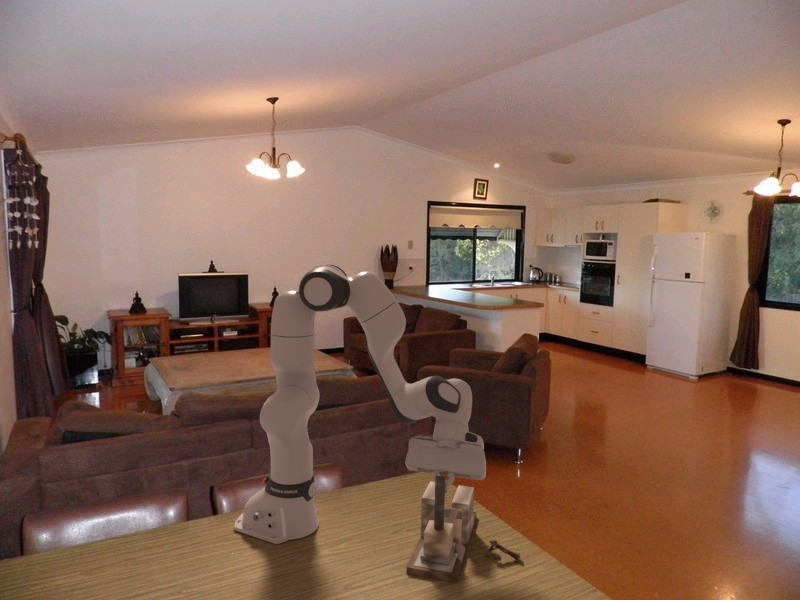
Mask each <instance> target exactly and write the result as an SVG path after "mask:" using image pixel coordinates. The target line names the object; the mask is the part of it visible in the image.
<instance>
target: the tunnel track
mask: <svg viewBox="0 0 800 600" xmlns="http://www.w3.org/2000/svg"><path fill="white" fill-rule="evenodd" d="M474 499H475V487H473V486H467V485H461V484H460V485H459V484H458V486H457V489H456V491H455V493H454V496H453V499H452V501H451V507H445V506H444V522H446V523H452V524H453V543H455V549H454V552H453V555H452V558H451V561H450V564H449V565H447V564H442V563H436V562H431V561H425V560H420V555H421V553H422V551H423V549H424V531H425V529H426V527H427V524H428V522H429V520H433V521H434V507H435V481H431V480H430V482H429V483H428V485H427V487H426V489H425V490H424V492H423V494H422V497H421V509H420V511H421V513H420V515H421V516H420V517H421V518H420V538H419V539H418V542H417V544H416V546H415V548H414V550H413V553H412V555H411V557H410V559H409V561H408V564H407V565H406V572H405V573H406V574H408V575H409V574H410V575H414V576H415V575H416V576H421V577H424V578H431V579H436V580H440V581H441V580H442V581H447V582H452V583H456V584H457V583H458V580H459V578H460V574H461V571H462V567H463V564H464V560H465V557H466V554H467V552H468V551H467V550H468V547H469V543H470V541H471V540H470V539H471V536H472V534H473V531H474V527H475V523H476V521H477V517H478V516H477V513H478V512H475V511H474V502H475V500H474Z"/></svg>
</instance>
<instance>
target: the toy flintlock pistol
mask: <svg viewBox="0 0 800 600" xmlns="http://www.w3.org/2000/svg"><path fill="white" fill-rule="evenodd" d="M488 542H489V544H490V547H489V548H488V550H487V552H486V554H485V556H486V557H489V555H491V556H493V558H495V559H497V560H498V559H501V558H502V557H501V556H500V554H499V553H497V552H496V551H495V550H496V549H498V550H499V551H500V552H502V553H504V555H505V554H506V555H508V556H510V557H511V558H513V559H514V560H515V562H516V563H518V562H519V561H520V558H521V552H515V551H512V550H509V549H508V548H507V547H505V546H504V545H501V544H500V543H498V541H497V540H494V539H490V540H489V541H488ZM493 551H495V552H493Z"/></svg>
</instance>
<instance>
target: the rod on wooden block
mask: <svg viewBox="0 0 800 600" xmlns="http://www.w3.org/2000/svg"><path fill="white" fill-rule="evenodd" d="M434 482H435V507H434V521H433V520H429V522H428V524H427V527H426V529H425V531H424V549H423V551H422V553H421V555H420V560H425V561H431V562H436V563H442V564H447V565H449V564H450V561H451V558H452V555H453V552H454V549H455V543H453V524H452V523H446V522H444V507H445V502H446V501H445V499H446V498H445V497H446V493H445V483H446V477H445V476H444V475H440V476H437V477H435V479H434Z"/></svg>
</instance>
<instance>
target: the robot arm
mask: <svg viewBox="0 0 800 600" xmlns="http://www.w3.org/2000/svg"><path fill="white" fill-rule="evenodd" d="M344 307H347V308H348V309H349V310H351V311H352V313H353V314H354V316H355V317H356V319H357V321H358V323H359V324H360V325H361V327H362V329H363V330H362V331H364V334H365V337H366V349H367V353H368V355H369V358H370V361H371V363H372V365H373V367H374V369H375V371H376V372H375V373H377V375H378V377H379V380H380V382H381V384H382V386H383V388H384V389H385V392H386V395H387V398H388V400H389V404H390V408H391V411H392V413H393V414H394V416H395V417H396V418H397V419H398V420H399V421H400V422H401V423H404V424H414V423H417V422H418V421H421V420H423V419H426V418H429V417H433V418H435V423H434V429H433V434H432V435H431V436H430V435H429V436H428V435H421V434H415V435H414V436H412V437H411V438H410V439H409V441H408V450H407V454H406V456H405V461H404V464H405V466H406V468H407V470H408V471H410V472H418V473H419V472H420V473H424V474H425V473H426V474H432V476H433V479H434V480H435V477H437V476H447V478H448V479H447V480H446V481H445V494H448V493H449V487H450V486H451V485H452V484H453V483H454V482H455V478H461V479H469V480H476V481H483V480H484V479H485V478H486V476H487V461H486V454H485V451H484V450H485V443H484V440H483V437H482V436H481V435H479V434H476V433H474V432H471V431H469V421H470V419H471V415H472V408H473V393H472V392H473V391H472V389H471V386H470V385H469V384H468V383H467V382H466V381H465V380H462V379H459V378H449V379H446V378H444V377H442V376H440V375H432V376H428V377H425V378H423V379H420V380H418V381H415V382H413V383H410V382H409V383H408V382H407V381H406V379H405V378H404V375H403V374H402V371H401V370H400V368H399V365H398V363H397V362H396V361H397V360H396V358H395V356H394V354H395V353H394V351H395V347H396V345H397V344H398V343H399V341H400V339H401V338H402V337H403V335H404V332H405V331H406V325H407V319H406V315H405V313H404V311H403V309H402V307H401V305H400V304H399V303H398V301H397V299H396V298H395V296H394V295H393V293H392V292H391V291H390V289H389V288H388V286H387V285H386V284H385V282H383V281H382V280H381V278H380V277H379V276H378V275H377V273H374V272H372V271H370V270H369V271H367V270H366V271H360V272H357V273H356V274H354V275H351V276H348V275H347V274H346V272H345V271H344V270H343V269H342V268H340V267H339V266H336V265H334V264H323V265H319V266H315V267H314V268H312V269H310V270H309V271H308V272H306V273H305V274H304V276H302V278H301V280H300V281H299V285H298V289H296V290H286V291H283V292H281V293H280V294H278V295H277V296H276V298H274V303H273V307H272V314H271V320H270V321H271V322H270V323H271V324H270V365H271V367H272V368H273V369H274V373H275V374H274V375H275V379H276V390H275V392H273V393H272V394H271V395H270V396H269V397H268V398H267V399H265V400H266V401H265V402H264V404H263V405H262V407H261V410H260V413H259V422H260V425H261V427H262V429H263V431H265V432H266V435H267V436H266V437H267V440H268V443H269V444H268V445H269V450H270V472H269V473H268V474H267V475H266V476H265V478H264V479H263V480H262V481H261V483H262V484H261V486H264V485H265V486H264V487H263V488H261V489H260V490H259V491H257V492H256V493H255V494H254V495H252V496H251V497H250V498H249V499H248V500H247V502H246V503H245V505H244V509H243V512H242V513H241V514H240V515H239V516H238V517H237V519H235V522H234V526H233V530H234V531H236V532H239V533H242V534H245V535H247V536H251V537H254V538H257V539H259V540H263V541H266V542H269V543H272V544H273V545H279V544H282V543H284V542H287V541H291V540H298V539H302V538H305V537H308V536H310V535H312V534H313V533H314V532H315V531H317V530H318V528H319V525H320V521H319V519H318V516H317V512H316V506H315V505H316V504H315V497H314V496H315V489H316V486H315V473H314V468H313V467H314V458H313V457H314V454H313V453H314V450H313V449H314V448H313V444H312V442H311V441H310V437H309V432H308V431H309V430H308V421H309V418H310V417H311V416H312V415H313V413H314V412H315V411H316V409H317V408H318V404H319V401H320V395H321V394H320V391H319V387H318V383H317V377H316V371H315V362H314V361H315V359H314V355H315V354H314V353H315V349H314V348H315V318H316V314H317V313H318V312H321V313H322V312H329V311H332V310H336V309H339V308H344Z"/></svg>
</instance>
